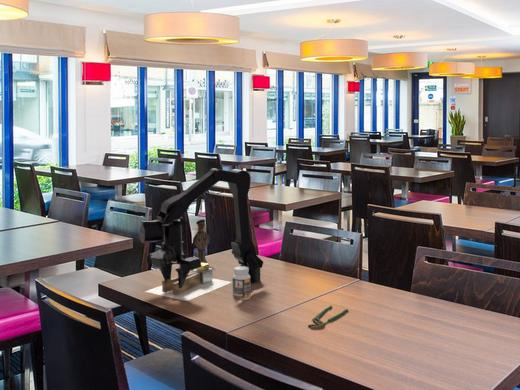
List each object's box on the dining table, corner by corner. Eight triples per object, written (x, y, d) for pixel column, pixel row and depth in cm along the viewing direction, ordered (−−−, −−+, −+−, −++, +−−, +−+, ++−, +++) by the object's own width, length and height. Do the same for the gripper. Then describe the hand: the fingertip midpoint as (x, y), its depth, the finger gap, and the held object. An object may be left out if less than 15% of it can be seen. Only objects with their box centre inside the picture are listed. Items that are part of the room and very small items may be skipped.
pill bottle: (248, 301, 193) (248, 270, 191) (230, 300, 194) (230, 269, 192) (252, 295, 198) (252, 266, 197) (235, 295, 199) (234, 265, 198)
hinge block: (202, 279, 214) (202, 266, 214) (212, 281, 212) (212, 268, 211) (193, 282, 210) (192, 270, 209) (203, 284, 208) (202, 271, 207)
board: (232, 285, 210) (232, 282, 210) (186, 304, 190) (186, 300, 190) (192, 277, 220) (192, 274, 220) (144, 294, 200) (144, 291, 200)
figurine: (197, 268, 233) (195, 221, 230) (189, 265, 236) (188, 219, 234) (213, 264, 237) (212, 219, 235) (205, 262, 241) (204, 217, 238)
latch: (201, 267, 212) (201, 262, 212) (209, 268, 210) (209, 263, 210) (195, 269, 210) (195, 264, 210) (203, 270, 208) (203, 265, 208)
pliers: (330, 308, 187) (330, 304, 187) (350, 311, 184) (350, 307, 183) (299, 328, 171) (299, 323, 170) (320, 331, 167) (320, 327, 167)
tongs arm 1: (193, 282, 209) (193, 272, 208) (196, 282, 208) (196, 272, 208) (162, 292, 198) (162, 281, 198) (164, 292, 198) (164, 281, 197)
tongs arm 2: (196, 283, 208) (196, 272, 207) (199, 283, 207) (199, 273, 207) (172, 294, 196) (172, 283, 195) (175, 294, 195) (175, 283, 195)
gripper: (133, 240, 195) (135, 288, 197) (178, 247, 185) (179, 297, 187) (158, 234, 204) (159, 279, 206) (201, 241, 194) (202, 288, 196)
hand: (174, 286), depth 199 cm, fingers open, 5 cm apart
